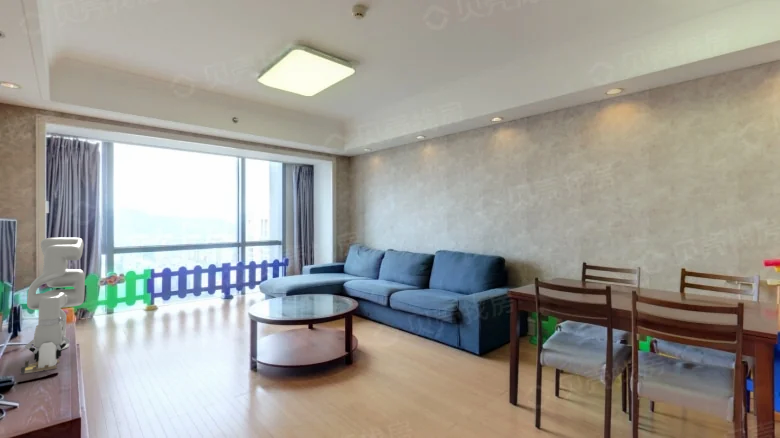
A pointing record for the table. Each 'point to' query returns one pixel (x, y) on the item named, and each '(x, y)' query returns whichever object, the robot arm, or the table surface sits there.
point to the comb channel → (36, 367)
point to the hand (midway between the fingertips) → (47, 359)
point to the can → (47, 355)
